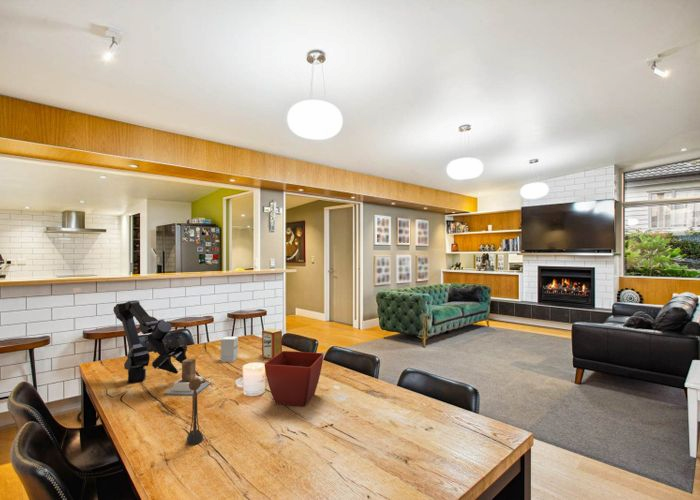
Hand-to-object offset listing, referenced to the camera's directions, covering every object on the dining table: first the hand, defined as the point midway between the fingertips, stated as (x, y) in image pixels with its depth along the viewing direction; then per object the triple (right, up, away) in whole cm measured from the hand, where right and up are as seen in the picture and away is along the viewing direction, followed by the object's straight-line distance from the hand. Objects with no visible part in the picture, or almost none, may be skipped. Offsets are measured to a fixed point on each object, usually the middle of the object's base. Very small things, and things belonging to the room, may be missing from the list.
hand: (183, 369), depth 154 cm
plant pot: (+52, -8, -12) cm, 54 cm away
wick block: (+3, -8, 0) cm, 8 cm away
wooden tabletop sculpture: (+25, -8, -43) cm, 51 cm away
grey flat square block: (+3, -8, 0) cm, 9 cm away
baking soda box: (+29, -9, +46) cm, 55 cm away
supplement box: (+6, -9, +41) cm, 43 cm away
